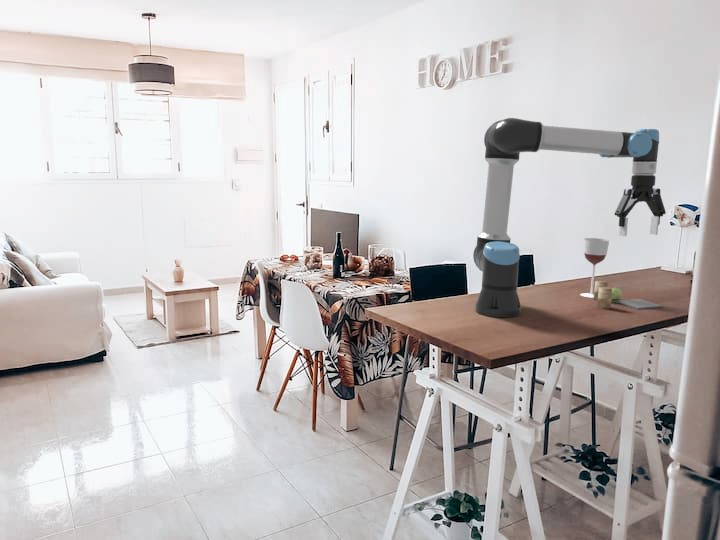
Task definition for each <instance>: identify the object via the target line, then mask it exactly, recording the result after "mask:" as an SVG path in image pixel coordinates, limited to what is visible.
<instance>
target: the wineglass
mask: <svg viewBox="0 0 720 540" xmlns="http://www.w3.org/2000/svg"><path fill="white" fill-rule="evenodd" d="M609 245H610V240H609V239H606V238H597V237H596V238H595V237H593V238H592V237H589V238H587V237H585V238H583V255H584V258H585V260H587V261H588V262H589V263H591V264H592V270H591V271H592V272H591V282H590V292H584V293H580V294H579V296H581V297H585V298H591V299H594V285H595V272H596V265H597V264H600V263H601V262H603V261H604V260H605V259H606V257H607V254H608V249H609Z"/></svg>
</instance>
